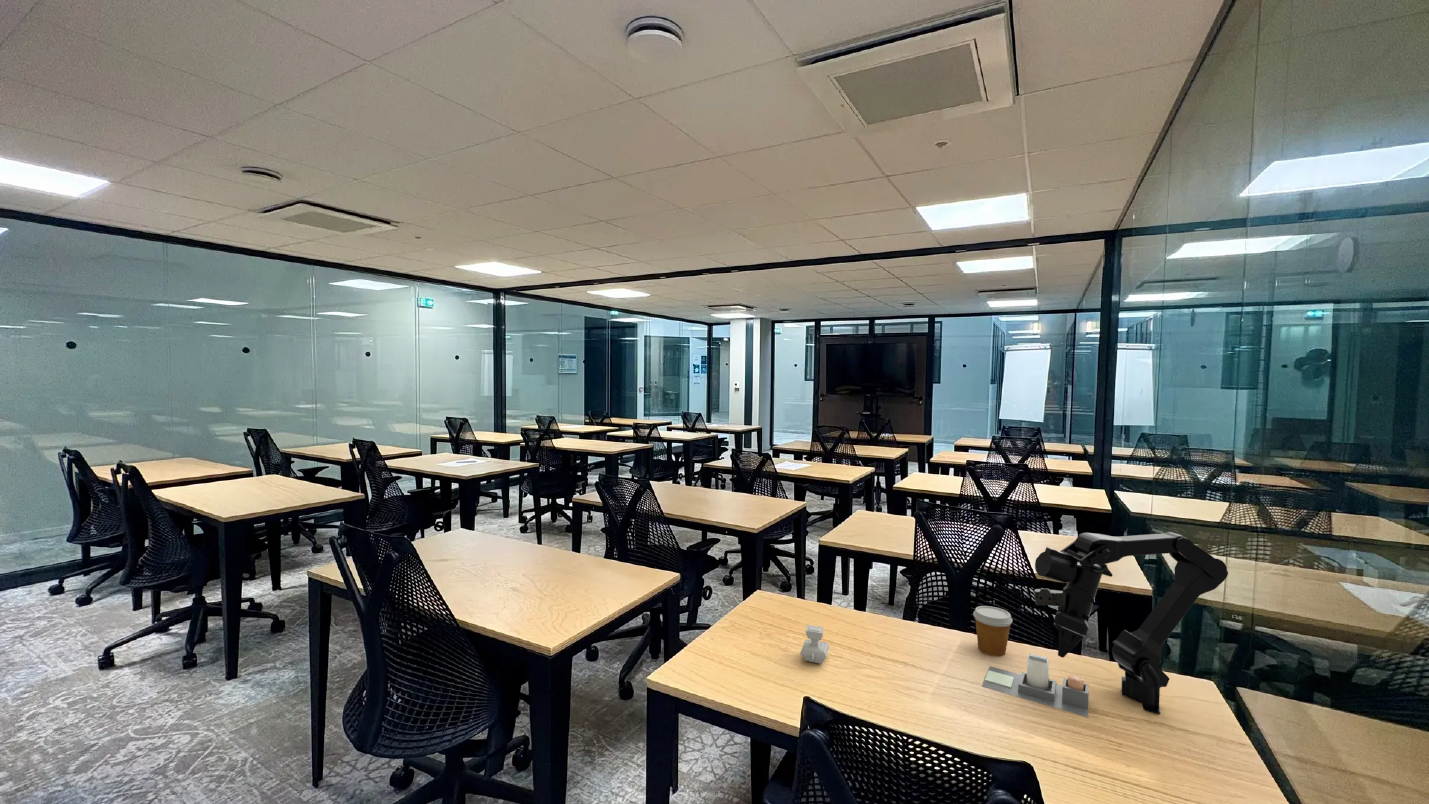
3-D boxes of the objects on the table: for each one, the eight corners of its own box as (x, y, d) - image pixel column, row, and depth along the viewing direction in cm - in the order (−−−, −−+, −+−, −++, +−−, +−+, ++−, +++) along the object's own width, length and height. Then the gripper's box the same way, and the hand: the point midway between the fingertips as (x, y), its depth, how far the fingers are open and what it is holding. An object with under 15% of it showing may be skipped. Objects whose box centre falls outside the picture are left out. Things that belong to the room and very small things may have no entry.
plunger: (1083, 692, 126) (1083, 678, 126) (1083, 698, 123) (1083, 684, 123) (1067, 688, 127) (1068, 674, 127) (1067, 693, 125) (1067, 679, 125)
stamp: (825, 669, 141) (825, 637, 141) (799, 665, 143) (800, 633, 143) (829, 654, 149) (829, 623, 149) (804, 650, 151) (805, 619, 151)
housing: (1088, 699, 129) (1089, 678, 129) (1087, 724, 119) (1088, 701, 119) (989, 671, 141) (990, 652, 141) (981, 692, 131) (982, 671, 131)
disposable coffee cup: (1008, 668, 143) (1009, 622, 143) (968, 657, 149) (969, 613, 149) (1014, 654, 151) (1015, 611, 150) (976, 644, 156) (977, 602, 156)
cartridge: (1048, 689, 130) (1049, 655, 130) (1047, 697, 127) (1048, 663, 126) (1027, 683, 133) (1028, 650, 133) (1025, 691, 129) (1026, 657, 129)
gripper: (1045, 569, 139) (1027, 627, 140) (1038, 577, 124) (1018, 643, 124) (1097, 588, 133) (1078, 650, 133) (1097, 599, 118) (1075, 669, 118)
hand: (1061, 652), depth 127 cm, fingers open, 9 cm apart
